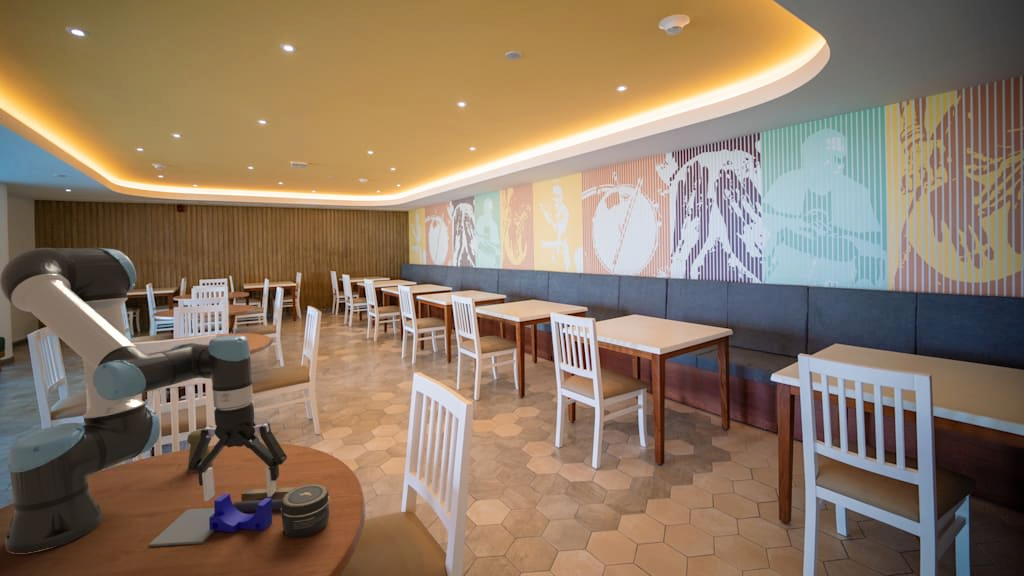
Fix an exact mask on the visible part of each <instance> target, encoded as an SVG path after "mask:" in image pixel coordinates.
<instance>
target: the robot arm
mask: <svg viewBox="0 0 1024 576" xmlns="http://www.w3.org/2000/svg"><path fill="white" fill-rule="evenodd" d="M135 283H137V272H136V268H135V266H134V264H133V261H132V260H131V259H130V258H129V256H127V255H125V253H123V252H122V251H121V250H117V249H113V248H105V247H104V248H103V247H102V248H101V247H63V248H62V247H56V248H54V247H37V248H32V249H30V250H26V251H24V252H21V253H19V254H17V255H15V256H14V257H13V258H11V259H10V260H9V261H8V262H7V263H6V265H5V266H4V267H3V269H2V271H1V274H0V289H1V291H2V293H3V295H4V297H5V298H6V299H7V300H8V301H9V302H10V303H11V304H12V305H13V306H15V308H17V309H19V310H20V311H24V312H28V313H31V314H33V316H34V317H36V318H37V319H38V320H39V321H40V322H41V323H42V324H44V325H45V326H46V328H48V329H49V330H50V331H51V332H52V333H53V334H55V335H56V336H57V337H58V338H59V339H60V340H62V342H63V343H65V345H67V346H68V347H69V348H70V349H71V350H73V351H74V353H76V354H77V355H78V356H79V357H81V359H82V365H83V370H84V377H85V383H86V389H87V393H88V398H89V399H88V401H89V406H90V407H89V409H88V410H87V411H86V412H85V413H84V414H83V423H84V424H81V423H79V422H67V423H61V424H57V425H56V426H54V425H52V426H49V427H45V428H41V429H38V430H37V431H34V432H32V433H29V434H28V435H26V436H24V437H22V438H20V439H19V440H17V441H16V442H15V443H14V444H13V445H12V446H11V447H10V450H9V454H8V455H9V457H8V458H9V459H8V470H9V474H10V475H9V476H10V482H11V489H12V491H11V492H12V498H13V505H14V506H13V507H14V508H13V510H14V511H13V512H14V513H13V515H12V518H11V521H10V524H9V527H8V531H7V534H6V536H5V539H4V542H5V543H4V544H5V550H6V549H7V550H8V551H10V552H14V553H28V552H34V551H38V550H42V549H46V548H51V547H55V546H59V547H61V546H60V545H62V546H64V545H66V544H65V543H67V544H69V543H71V542H70V541H72V540H74V539H76V538H78V537H80V538H81V536H82V537H83V535H84V536H85V535H87V534H89V533H90V532H92V531H93V530H94V529H95V528H97V527H98V526H99V524H101V522H102V520H103V517H102V516H103V515H102V508H101V506H99V505H98V504H97V503H96V500H95V498H94V496H93V494H92V492H91V490H90V487H89V478H88V477H89V476H91V475H94V474H96V473H98V472H100V471H103V470H106V469H108V468H110V467H113V466H115V465H117V464H120V463H121V464H122V463H123V462H125V461H129V460H132V459H135V458H137V457H138V456H139V455H142V454H144V453H146V452H148V451H150V450H151V449H152V448H153V447H154V446H155V445H156V443H157V442H158V440H159V438H160V434H161V420H160V417H159V415H158V414H157V412H156V411H155V410H154V408H152V407H149V406H146V404H145V401H144V400H142V399H140V398H138V397H137V396H139V395H140V394H145V393H148V392H151V391H154V390H157V389H161V388H164V387H165V388H166V387H169V386H172V385H176V384H179V383H183V382H186V381H190V380H193V379H194V380H195V379H211V388H212V397H213V398H212V399H213V407H214V408H215V409H214V411H213V412H214V413H213V415H214V425H215V427H213V426H212V425H207V426H206V427H204V428H203V429H200V430H201V436H200V441H199V444H198V446H197V448H196V450H195V453H194V455H193V457H192V459H191V462H190V464H189V466H188V465H187V471H188V470H190V471H191V470H196V471H197V474H198V483H199V486H202V488H203V489H202V490H203V491H202V492H203V500H204V501H203V502H208V501H209V500H211V498H213V497H214V496H215V494H216V493H215V491H216V490H215V479H214V469H213V468H214V467H213V466H212V467H209V468H208V466H210V464H211V463H213V461H214V460H215V459H216V457H217V456H218V455H219V454H220V453H221V451H222V450H223V449H224V447H227V448H233V447H237V448H238V447H239V448H241V447H246V448H247V449H250V450H251V451H252V453H254V454H255V455H256V456H257V457H258V458H259V459H261V461H263V463H264V464H265V465H266V466H267V467H266V468H265V480H266V482H265V483H266V489H267V496H268V497H271V496H272V495H273V494H274V492H275V491H276V488H277V484H276V483H277V480H278V478H279V477H280V470H279V469H280V468H279V466H282V464H283V463H284V462H285V461H286V460H287V458H288V455H287V454H286V453H285V451H284V450H283V448H282V446H281V445H280V443H279V441H278V440H277V439H276V437H275V435H274V434H273V432H272V429H271V424H270V423H269V422H268V421H266V422H264V423H262V424H256V423H255V405H254V403H253V401H254V394H253V391H254V390H253V383H252V381H253V380H252V378H253V377H252V365H251V355H252V354H251V351H250V346H249V345H250V343H249V339H248V338H247V337H246V336H244V335H242V334H241V335H238V334H237V335H224V336H219V337H214V338H212V339H210V340H209V342H208V344H202V343H200V344H199V343H195V342H191V343H190V342H188V343H182V344H177V345H175V346H173V347H172V348H171V349H167V350H163V351H157V352H152V353H145V352H144V351H143V350H141V349H140V348H139V347H137V346H136V345H135V344H134V343H132V341H130V340H129V339H128V338H127V334H126V328H125V322H124V315H123V310H122V309H123V308H122V306H123V304H124V303H126V301H127V300H128V299H129V298H128V293H129V292H131V291H133V290H134V288H135V286H136V284H135ZM256 432H257V435H259V436H260V438H261V440H262V441H260V438H259V437H258V436H257V435H256V434H255V433H256ZM214 436H216V437H217V438H218V441H217V442H216V444H214V447H213V448H212V449H211V451H210V453H209V454H208V456H207V457H206V458H205V460H204V461H203V462H202V463H201V461H202V458H203V456H204V454H205V452H206V449H207V447H208V446H210V443H211V440H212V438H213V437H214ZM263 443H264V444H263ZM78 539H79V538H78ZM76 540H77V539H76ZM74 541H75V540H74ZM68 542H69V543H68ZM72 542H73V541H72ZM63 544H64V545H63Z"/></svg>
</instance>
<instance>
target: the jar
mask: <svg viewBox="0 0 1024 576" xmlns="http://www.w3.org/2000/svg"><path fill="white" fill-rule="evenodd" d="M297 487H298V488H295V489H293V490H291V491H289V492H288V493H287V494H285V495H284V497H283V498H282V501H281V510H280V511H281V522H282V523H281V524H282V528H283V530H284V531H283V532H285V535H287V536H289V537H290V538H294V539H301V538H306V537H311V536H314V535H315V534H317V533H319V532H320V531H321V530H322V531H323V529H324V528H325V527H326V525H327V523H328V521H329V517H330V495H329V489H328V488H327V487H326V486H324V485H323V484H320V483H319V484H316V483H312V484H304V485H301V486H297Z"/></svg>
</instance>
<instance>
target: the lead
mask: <svg viewBox="0 0 1024 576" xmlns="http://www.w3.org/2000/svg"><path fill="white" fill-rule="evenodd" d="M261 501H263V500H259V501H242V500H241V501H235V502H234V503H232V504H233V505H234V507H235V508H236V509H237V510H239V511H240V512H242V513H248V512H249V513H250V512H251V513H252V512H256V510H257V505H258V504H259V503H260V502H261ZM281 501H282V499H278V500H272V511H281Z"/></svg>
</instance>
